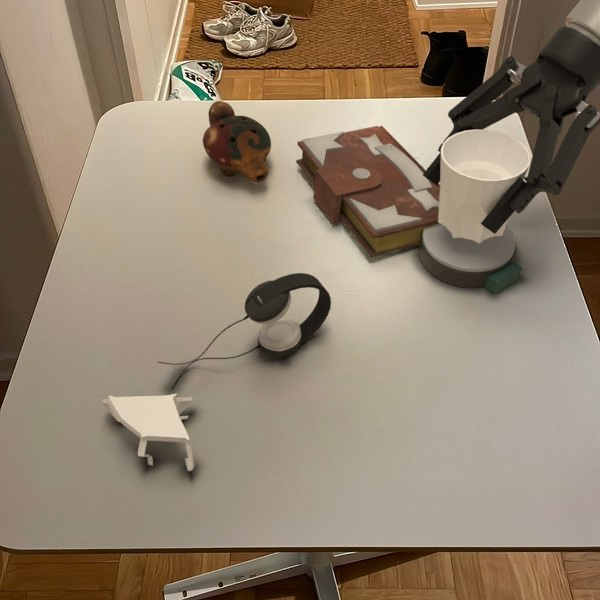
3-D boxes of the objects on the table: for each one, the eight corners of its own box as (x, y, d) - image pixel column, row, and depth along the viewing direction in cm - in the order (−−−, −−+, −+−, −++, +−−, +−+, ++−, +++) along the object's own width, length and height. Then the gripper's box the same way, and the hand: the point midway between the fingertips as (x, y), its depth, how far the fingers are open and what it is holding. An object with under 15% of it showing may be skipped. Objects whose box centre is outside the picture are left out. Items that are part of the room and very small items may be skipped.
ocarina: (239, 132, 116) (239, 87, 110) (292, 185, 108) (295, 139, 102) (184, 150, 112) (181, 104, 106) (235, 206, 104) (235, 160, 98)
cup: (441, 189, 96) (451, 123, 89) (519, 204, 93) (535, 138, 86) (423, 237, 89) (432, 170, 82) (506, 255, 87) (523, 188, 80)
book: (464, 237, 99) (472, 207, 96) (363, 263, 94) (368, 233, 90) (381, 148, 114) (385, 119, 110) (289, 167, 108) (291, 137, 105)
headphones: (173, 390, 84) (322, 305, 88) (188, 418, 82) (341, 329, 85) (144, 341, 77) (308, 251, 80) (159, 370, 74) (329, 275, 78)
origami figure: (221, 416, 79) (216, 388, 75) (193, 484, 73) (186, 457, 70) (118, 393, 81) (109, 365, 77) (83, 457, 75) (71, 430, 72)
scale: (539, 267, 94) (545, 248, 91) (471, 307, 89) (475, 289, 87) (466, 213, 101) (469, 196, 99) (399, 249, 96) (401, 231, 94)
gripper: (680, 104, 77) (536, 267, 83) (530, 21, 91) (415, 166, 97) (663, 72, 72) (509, 249, 78) (505, -11, 85) (385, 145, 91)
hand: (457, 203), depth 87 cm, fingers closed on cup, 10 cm apart
